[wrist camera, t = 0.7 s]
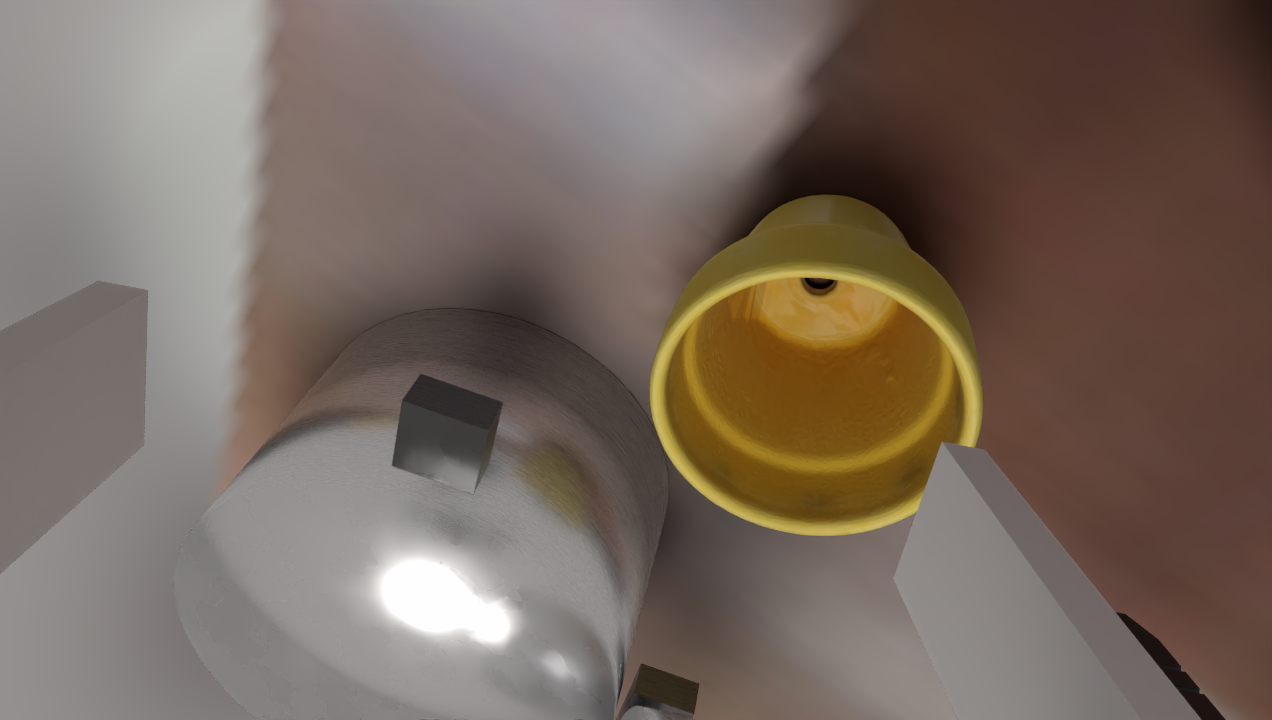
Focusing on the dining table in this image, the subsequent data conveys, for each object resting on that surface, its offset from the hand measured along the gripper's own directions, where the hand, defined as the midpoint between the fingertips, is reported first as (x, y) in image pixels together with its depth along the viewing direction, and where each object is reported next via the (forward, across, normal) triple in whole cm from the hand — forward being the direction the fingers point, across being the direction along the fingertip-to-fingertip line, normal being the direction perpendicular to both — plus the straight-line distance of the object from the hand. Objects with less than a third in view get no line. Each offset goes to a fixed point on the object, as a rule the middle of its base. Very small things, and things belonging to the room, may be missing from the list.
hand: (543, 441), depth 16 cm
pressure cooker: (+27, -1, -16) cm, 32 cm away
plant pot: (+22, +9, -1) cm, 24 cm away
